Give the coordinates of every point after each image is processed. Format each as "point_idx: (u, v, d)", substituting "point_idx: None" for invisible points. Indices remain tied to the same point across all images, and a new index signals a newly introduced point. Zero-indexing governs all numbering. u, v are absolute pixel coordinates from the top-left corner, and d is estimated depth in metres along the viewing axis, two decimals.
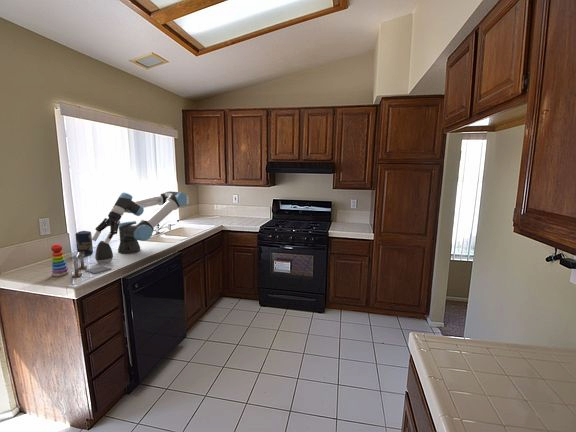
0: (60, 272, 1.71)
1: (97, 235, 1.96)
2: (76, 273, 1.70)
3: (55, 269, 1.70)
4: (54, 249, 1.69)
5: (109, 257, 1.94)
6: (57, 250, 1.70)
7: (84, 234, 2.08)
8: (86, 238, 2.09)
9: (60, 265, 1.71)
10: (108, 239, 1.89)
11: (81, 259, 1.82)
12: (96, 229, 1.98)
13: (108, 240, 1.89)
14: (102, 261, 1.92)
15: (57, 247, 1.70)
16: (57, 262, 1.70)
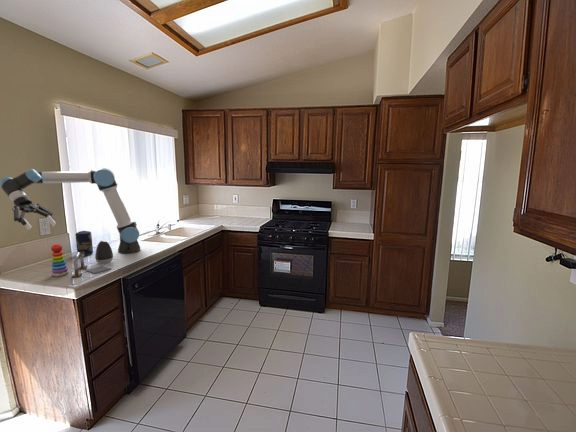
0: (60, 272, 1.71)
1: (50, 219, 1.78)
2: (76, 273, 1.70)
3: (55, 269, 1.70)
4: (54, 249, 1.69)
5: (109, 257, 1.94)
6: (57, 250, 1.70)
7: (84, 234, 2.08)
8: (86, 238, 2.09)
9: (60, 265, 1.71)
10: (26, 225, 1.65)
11: (81, 259, 1.82)
12: None
13: (27, 225, 1.65)
14: (102, 261, 1.92)
15: (57, 247, 1.70)
16: (57, 262, 1.70)
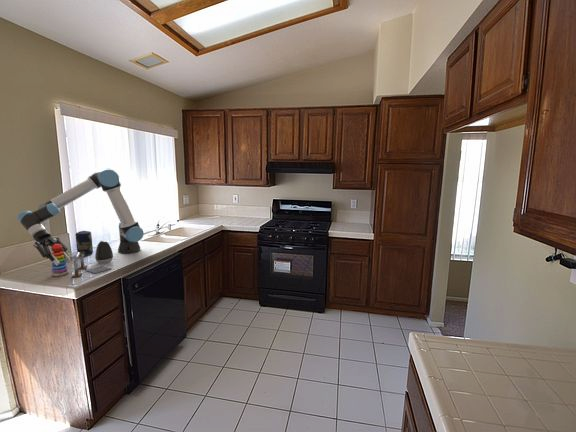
0: (60, 272, 1.71)
1: (64, 256, 1.75)
2: (76, 273, 1.70)
3: (55, 269, 1.70)
4: (54, 249, 1.69)
5: (109, 257, 1.94)
6: (57, 250, 1.70)
7: (84, 234, 2.08)
8: (86, 238, 2.09)
9: (60, 265, 1.71)
10: (54, 261, 1.68)
11: (81, 259, 1.82)
12: None
13: (55, 261, 1.68)
14: (102, 261, 1.92)
15: (57, 247, 1.70)
16: None
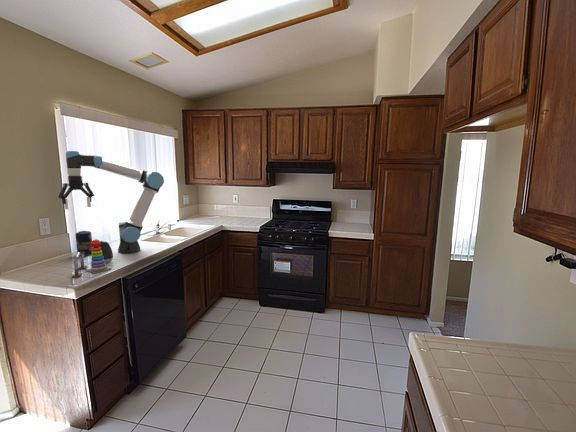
0: (99, 266, 1.79)
1: (88, 201, 1.97)
2: (76, 273, 1.70)
3: (94, 263, 1.78)
4: (94, 244, 1.77)
5: (109, 257, 1.94)
6: (96, 245, 1.78)
7: (84, 234, 2.08)
8: (86, 238, 2.09)
9: (99, 260, 1.79)
10: (65, 205, 1.85)
11: (81, 259, 1.82)
12: None
13: (65, 206, 1.85)
14: None
15: (96, 242, 1.77)
16: (96, 257, 1.78)
